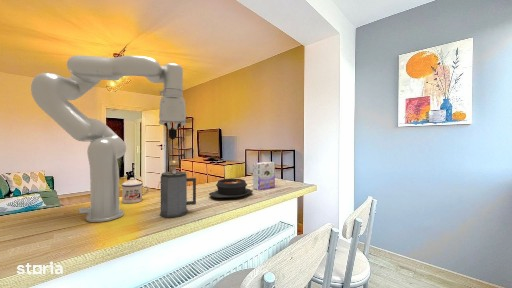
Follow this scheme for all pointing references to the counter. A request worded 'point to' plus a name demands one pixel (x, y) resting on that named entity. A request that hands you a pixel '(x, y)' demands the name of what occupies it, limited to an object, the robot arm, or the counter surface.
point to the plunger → (174, 165)
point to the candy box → (263, 175)
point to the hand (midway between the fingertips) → (172, 139)
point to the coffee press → (175, 194)
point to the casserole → (231, 188)
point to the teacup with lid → (132, 191)
